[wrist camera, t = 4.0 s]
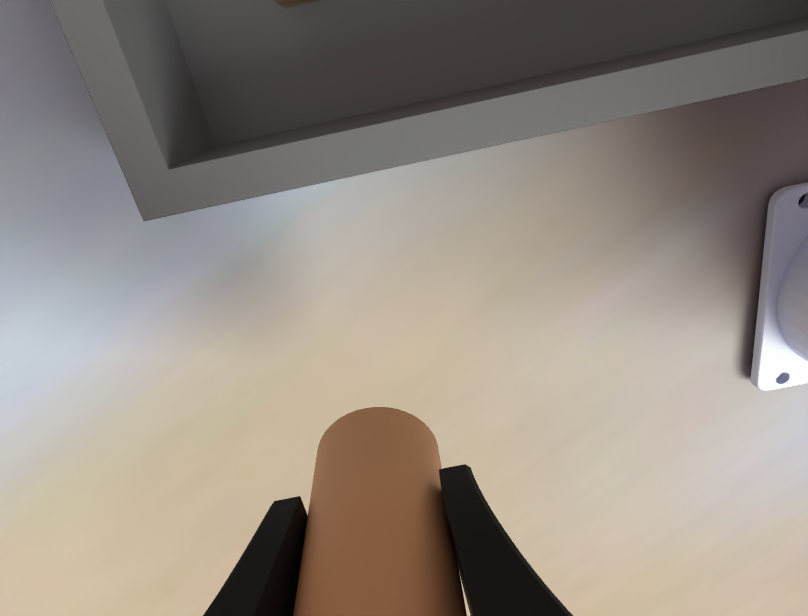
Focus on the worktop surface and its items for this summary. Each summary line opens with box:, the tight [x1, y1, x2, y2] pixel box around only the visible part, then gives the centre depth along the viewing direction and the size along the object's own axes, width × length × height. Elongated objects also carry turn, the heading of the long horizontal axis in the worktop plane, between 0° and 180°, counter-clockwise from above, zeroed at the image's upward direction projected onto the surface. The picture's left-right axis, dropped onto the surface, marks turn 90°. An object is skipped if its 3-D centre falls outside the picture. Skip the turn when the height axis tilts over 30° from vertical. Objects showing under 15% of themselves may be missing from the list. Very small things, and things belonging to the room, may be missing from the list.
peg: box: [293, 407, 467, 616], centre depth 10 cm, size 3×3×7 cm
